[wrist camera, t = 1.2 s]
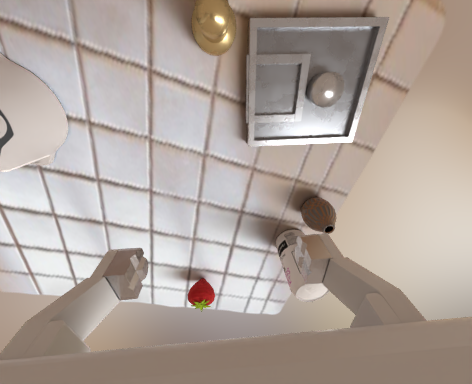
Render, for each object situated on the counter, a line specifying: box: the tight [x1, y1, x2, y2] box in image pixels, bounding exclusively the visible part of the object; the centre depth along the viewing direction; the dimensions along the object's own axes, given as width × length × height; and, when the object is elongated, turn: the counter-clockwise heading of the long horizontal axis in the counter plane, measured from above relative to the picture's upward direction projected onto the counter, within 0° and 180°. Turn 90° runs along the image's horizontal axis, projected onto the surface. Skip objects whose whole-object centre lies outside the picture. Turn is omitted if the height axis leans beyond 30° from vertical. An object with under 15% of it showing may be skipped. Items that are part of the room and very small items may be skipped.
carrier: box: [246, 17, 389, 146], centre depth 32 cm, size 20×18×4 cm
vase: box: [301, 198, 336, 234], centre depth 43 cm, size 7×7×9 cm
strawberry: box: [188, 278, 215, 310], centre depth 54 cm, size 6×8×10 cm
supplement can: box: [275, 229, 329, 302], centre depth 46 cm, size 8×8×15 cm
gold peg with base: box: [191, 0, 236, 56], centre depth 24 cm, size 6×6×10 cm
